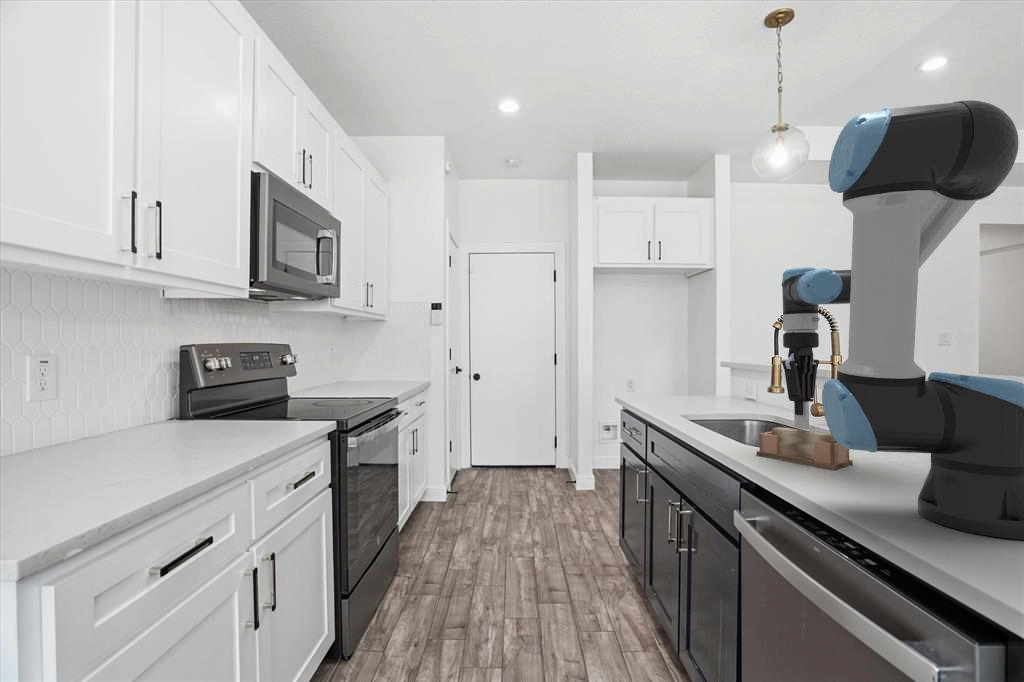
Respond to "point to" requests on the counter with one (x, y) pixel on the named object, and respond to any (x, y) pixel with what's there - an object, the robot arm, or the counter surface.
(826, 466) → the board
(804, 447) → the birch slat
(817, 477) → the counter surface
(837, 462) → the brown slotted stand
